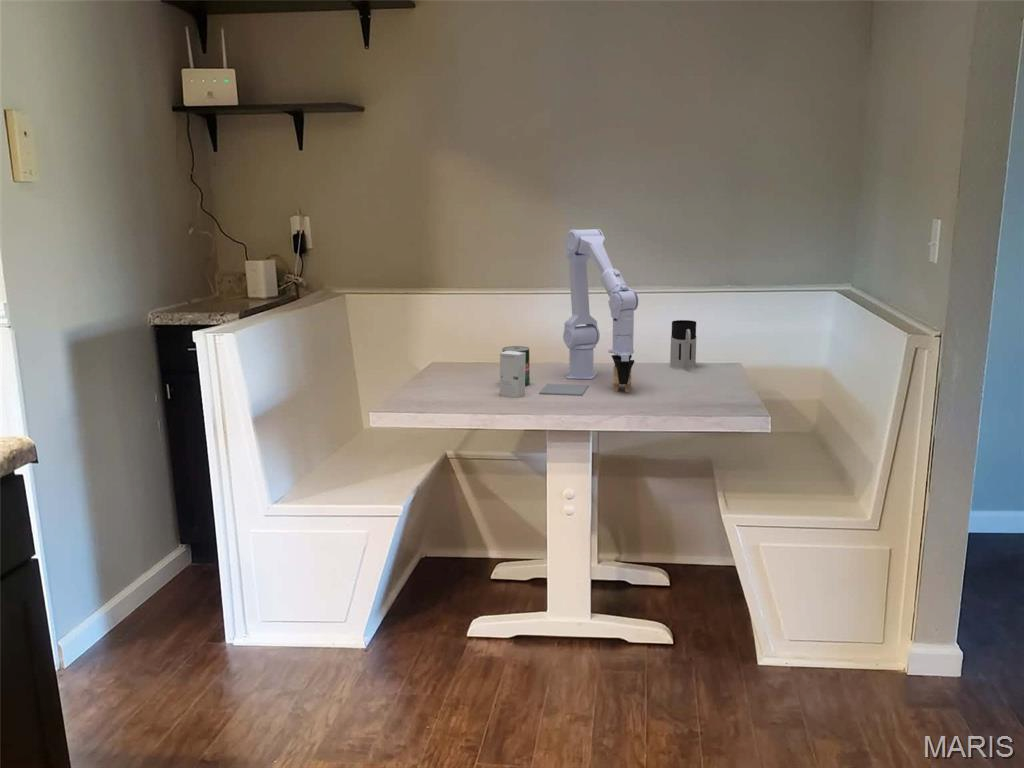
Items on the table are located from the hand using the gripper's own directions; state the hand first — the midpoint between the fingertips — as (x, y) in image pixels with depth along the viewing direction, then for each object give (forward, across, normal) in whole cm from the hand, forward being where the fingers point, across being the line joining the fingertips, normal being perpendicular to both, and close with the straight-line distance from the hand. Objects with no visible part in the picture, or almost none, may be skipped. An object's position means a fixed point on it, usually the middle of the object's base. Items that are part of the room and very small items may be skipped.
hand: (622, 382), depth 239 cm
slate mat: (+2, 0, -16) cm, 16 cm away
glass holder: (+3, -28, +22) cm, 36 cm away
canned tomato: (+3, -8, -30) cm, 31 cm away
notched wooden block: (+2, 0, 0) cm, 2 cm away
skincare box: (+3, +5, -31) cm, 31 cm away
